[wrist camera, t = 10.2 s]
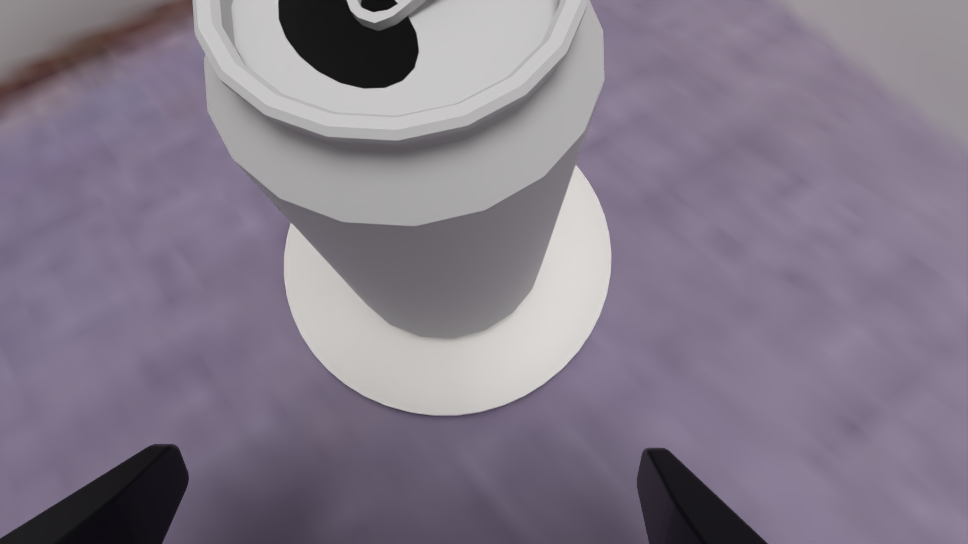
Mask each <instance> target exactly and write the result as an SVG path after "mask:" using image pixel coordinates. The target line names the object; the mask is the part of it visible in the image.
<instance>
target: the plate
mask: <svg viewBox="0 0 968 544" xmlns="http://www.w3.org/2000/svg"><path fill="white" fill-rule="evenodd" d="M610 274H611V247H610V237H609V232H608V227H607V223H606V219H605V215H604V213H603V210H602V208H601V205H600V203H599V200H598V198H597V196H596V194H595V192H594V191H593V189H592V187H591V185H590V184H589V182H588V180H587V179H586V178H585V176H584V175H583V174H582V172H581V171H580V170H579V168H578V167H577V166H576V165H575V168H574V171H573V174H572V177H571V180H570V183H569V186H568V189H567V192H566V195H565V198H564V201H563V203H562V206H561V209H560V212H559V215H558V218H557V221H556V224H555V227H554V230H553V233H552V236H551V239H550V242H549V245H548V248H547V251H546V254H545V256H544V259H543V262H542V265H541V268H540V270H539V273H538V275H537V278H536V281H535V283H534V286H533V289H532V290H531V291H530V293H529V294H528V295H527V296H526V297H525V299H524V300H523V301H522V302H521V303H520V305H519V306H518V307H517V308H516V309H515V311H514V312H513V313H512V314H510V315H509V316H507V317H506V318H504V319H502V320H501V321H499V322H498V323H496V324H494V325H493V326H491V327H490V328H488V329H486V330H485V331H481V332H477V333H473V334H469V335H465V336H461V337H457V338H453V339H451V338H435V337H420V336H417V335H415V334H412V333H410V332H407V331H405V330H402V329H400V328H397V327H395V326H392V325H390V324H388V323H387V322H386V321H385V320H384V319H383V318H382V317H380V316H379V315H378V314H377V313H376V312H375V311H373V310H372V309H371V308H370V307H369V306H368V305H366V304H365V302H364V301H363V300H362V299H361V298H360V297H359V296H358V295H357V294H356V293H355V292H354V290H353V289H352V288H351V287H350V286H349V285H348V284H347V283H346V282H345V281H344V280H343V279H342V277H341V276H340V275H339V274H338V273H337V272H336V271H335V270H334V269H333V268H332V267H331V265H330V264H329V263H328V262H327V261H326V260H325V259H324V258H323V257H322V256H321V255H320V253H319V252H318V251H317V250H316V249H315V248H314V247H313V246H312V245H311V244H310V243H309V241H308V240H307V239H306V238H305V237H304V236H303V235H302V234H301V233H300V232H299V231H298V230H297V228H296V227H295V226H294V225H293V224H292V223H291V224H290V228H289V231H288V235H287V240H286V247H285V253H284V279H285V287H286V294H287V299H288V302H289V305H290V309H291V312H292V316H293V318H294V320H295V322H296V325H297V327H298V329H299V331H300V333H301V335H302V337H303V338H304V340H305V342H306V343H307V345H308V346H309V348H310V349H311V351H312V352H313V354H314V355H315V356H316V357H317V358H318V359H319V360H320V362H321V363H322V364H323V365H324V366H325V367H326V368H327V369H328V370H329V371H330V372H331V373H332V374H333V375H335V376H336V377H337V378H338V379H339V380H341V381H342V382H343V383H344V384H346V385H347V386H349V387H350V388H352V389H354V390H355V391H357V392H358V393H360V394H362V395H363V396H365V397H367V398H370V399H372V400H374V401H377V402H379V403H381V404H383V405H386V406H389V407H393V408H397V409H400V410H404V411H407V412H411V413H417V414H424V415H432V416H460V415H467V414H474V413H481V412H484V411H488V410H491V409H495V408H498V407H502V406H504V405H506V404H509V403H511V402H513V401H515V400H518V399H520V398H522V397H524V396H526V395H527V394H529V393H531V392H532V391H534V390H535V389H537V388H539V387H540V386H542V385H543V384H544V383H546V382H547V381H548V380H549V379H550V378H552V377H553V376H554V375H555V374H556V373H558V372H559V371H560V370H561V369H563V367H564V366H565V365H566V364H567V363H568V362H569V361H570V360H571V359H572V358H573V357H574V356H575V354H576V353H577V352H578V351H579V350H580V348H581V347H582V345H583V344H584V342H585V341H586V339H587V338H588V337H589V335H590V334H591V332H592V330H593V328H594V326H595V324H596V322H597V320H598V318H599V316H600V313H601V310H602V307H603V304H604V301H605V298H606V295H607V291H608V285H609V280H610Z"/></svg>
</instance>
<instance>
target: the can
mask: <svg viewBox="0 0 968 544" xmlns="http://www.w3.org/2000/svg"><path fill="white" fill-rule="evenodd" d="M193 12H194V27H195V35H196V37H197V39H198V41H199V43H200V45H201V46H202V48H203V50H204V52H205V54H206V56H205V59H204V68H205V82H206V96H207V110H208V113H209V115H210V117H211V118H212V120H213V122H214V124H215V126H216V128H217V130H218V132H219V134H220V136H221V137H222V139H223V141H224V143H225V145H226V147H227V149H228V151H229V153H230V155H231V156H232V158H233V160H234V161H235V162H236V163H237V164H238V165H239V166H240V167H241V169H242V170H243V171H244V172H245V173H246V174H247V175H248V176H249V177H250V178H251V179H252V180H253V182H254V183H255V184H256V185H257V186H258V187H259V188H260V189H261V190H262V191H263V192H264V194H265V195H266V196H267V197H268V198H269V199H270V200H271V201H272V202H273V203H274V204H275V206H276V207H277V208H278V209H279V210H280V211H281V212H282V213H283V214H284V215H285V216H286V218H287V219H288V220H289V221H290V222H291V223H292V224H293V225H294V226H295V227H296V228H297V230H298V231H299V232H300V233H301V234H302V235H303V236H304V237H305V238H306V239H307V240H308V241H309V243H310V244H311V245H312V246H313V247H314V248H315V249H316V250H317V251H318V252H319V253H320V255H321V256H322V257H323V258H324V259H325V260H326V261H327V262H328V263H329V264H330V265H331V267H332V268H333V269H334V270H335V271H336V272H337V273H338V274H339V275H340V276H341V277H342V279H343V280H344V281H345V282H346V283H347V284H348V285H349V286H350V287H351V288H352V289H353V290H354V292H355V293H356V294H357V295H358V296H359V297H360V298H361V299H362V300H363V301H364V302H365V304H366V305H368V306H369V307H370V308H371V309H372V310H373V311H375V312H376V313H377V314H378V315H379V316H380V317H382V318H383V319H384V320H385V321H386V322H387V323H388V324H390V325H392V326H395V327H397V328H400V329H402V330H405V331H407V332H410V333H412V334H415V335H417V336H420V337H435V338H451V339H453V338H457V337H461V336H465V335H469V334H473V333H477V332H481V331H485V330H486V329H488V328H490V327H491V326H493V325H494V324H496V323H498V322H499V321H501V320H502V319H504V318H506V317H507V316H509V315H510V314H512V313H513V312H514V311H515V309H516V308H517V307H518V306H519V305H520V303H521V302H522V301H523V300H524V299H525V297H526V296H527V295H528V294H529V293H530V291H531V290H532V289H533V286H534V283H535V281H536V278H537V275H538V273H539V270H540V268H541V265H542V262H543V259H544V256H545V254H546V251H547V248H548V245H549V242H550V239H551V236H552V233H553V230H554V227H555V224H556V221H557V218H558V215H559V212H560V209H561V206H562V203H563V201H564V198H565V195H566V192H567V189H568V186H569V183H570V180H571V177H572V174H573V171H574V168H575V165H576V162H577V159H578V156H579V153H580V150H581V148H582V145H583V142H584V139H585V136H586V133H587V130H588V127H589V124H590V121H591V118H592V115H593V112H594V109H595V106H596V103H597V100H598V97H599V95H600V92H601V89H602V86H603V83H604V51H603V30H602V27H601V25H600V23H599V21H598V18H597V16H596V14H595V12H594V9H593V7H592V5H591V3H590V0H193Z"/></svg>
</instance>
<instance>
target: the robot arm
mask: <svg viewBox="0 0 968 544" xmlns="http://www.w3.org/2000/svg"><path fill="white" fill-rule="evenodd" d="M188 480H189V474H188V471H187V468H186V465H185V463H184V460H183V458H182V455H181V452H180V450H179V448H178V447H177V446H176V445H174V444H154V445H151V446H149V447H147V448H145V449H144V450H142V451H141V452H139V453H137V454H136V455H134V456H132V457H131V458H129V459H128V460H126V461H124V462H123V463H121V464H120V465H118V466H116V467H115V468H113V469H112V470H110V471H108V472H107V473H105V474H104V475H102V476H100V477H99V478H97V479H95V480H94V481H92V482H91V483H89V484H87V485H86V486H84V487H83V488H81V489H79V490H78V491H76V492H75V493H73V494H71V495H70V496H68V497H66V498H65V499H63V500H62V501H60V502H58V503H57V504H55V505H54V506H52V507H50V508H49V509H47V510H46V511H44V512H42V513H41V514H39V515H37V516H36V517H34V518H33V519H31V520H29V521H28V522H26V523H25V524H23V525H21V526H20V527H18V528H17V529H15V530H13V531H12V532H10V533H8V534H7V535H5V536H4V537H2V538H0V544H162V543H163V540H164V538H165V536H166V534H167V531H168V529H169V527H170V524H171V522H172V520H173V518H174V515H175V513H176V511H177V509H178V506H179V504H180V502H181V500H182V497H183V495H184V493H185V491H186V488H187V485H188ZM637 489H638V494H639V499H640V503H641V508H642V512H643V517H644V521H645V526H646V531H647V535H648V540H649V544H768V543H767V542H766V541H765V540H763V539H762V538H761V537H760V536H759V535H758V534H757V533H756V532H755V531H754V530H753V529H752V528H751V527H750V526H749V525H747V524H746V523H745V522H744V521H743V520H742V519H741V518H740V517H739V516H738V515H737V514H736V513H735V512H734V511H733V510H732V509H730V508H729V507H728V506H727V505H726V504H725V503H724V502H723V501H722V500H721V499H720V498H719V497H718V496H717V495H716V494H715V493H713V492H712V491H711V490H710V489H709V488H708V487H707V486H706V485H705V484H704V483H703V482H702V481H701V480H700V479H699V478H698V477H696V476H695V475H694V474H693V473H692V472H691V471H690V470H689V469H688V468H687V467H686V466H685V465H684V464H683V463H682V462H680V461H679V460H678V459H677V458H676V457H675V456H674V455H673V454H672V453H671V452H670V451H669V450H667V449H665V448H645V449H644V450H643V452H642V457H641V461H640V466H639V471H638V476H637Z"/></svg>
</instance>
